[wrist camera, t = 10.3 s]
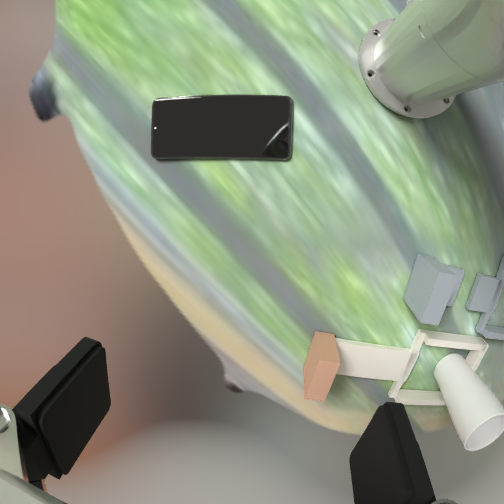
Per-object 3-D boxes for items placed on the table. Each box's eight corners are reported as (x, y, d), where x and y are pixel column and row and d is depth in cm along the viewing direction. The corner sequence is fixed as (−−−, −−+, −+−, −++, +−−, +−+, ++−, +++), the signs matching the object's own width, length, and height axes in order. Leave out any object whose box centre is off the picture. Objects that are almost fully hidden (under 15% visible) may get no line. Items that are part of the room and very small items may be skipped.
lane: (321, 312, 39) (325, 340, 33) (481, 337, 37) (501, 360, 31) (298, 382, 42) (298, 413, 36) (450, 396, 41) (463, 421, 35)
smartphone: (291, 160, 34) (149, 159, 35) (290, 160, 35) (153, 159, 36) (293, 95, 32) (151, 97, 33) (293, 96, 33) (155, 99, 34)
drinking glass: (473, 359, 39) (516, 421, 24) (442, 389, 41) (476, 456, 26) (452, 339, 38) (499, 405, 24) (420, 372, 40) (454, 445, 26)
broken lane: (424, 232, 34) (447, 247, 28) (549, 270, 33) (573, 285, 27) (396, 317, 38) (411, 343, 32) (523, 335, 37) (542, 355, 30)
